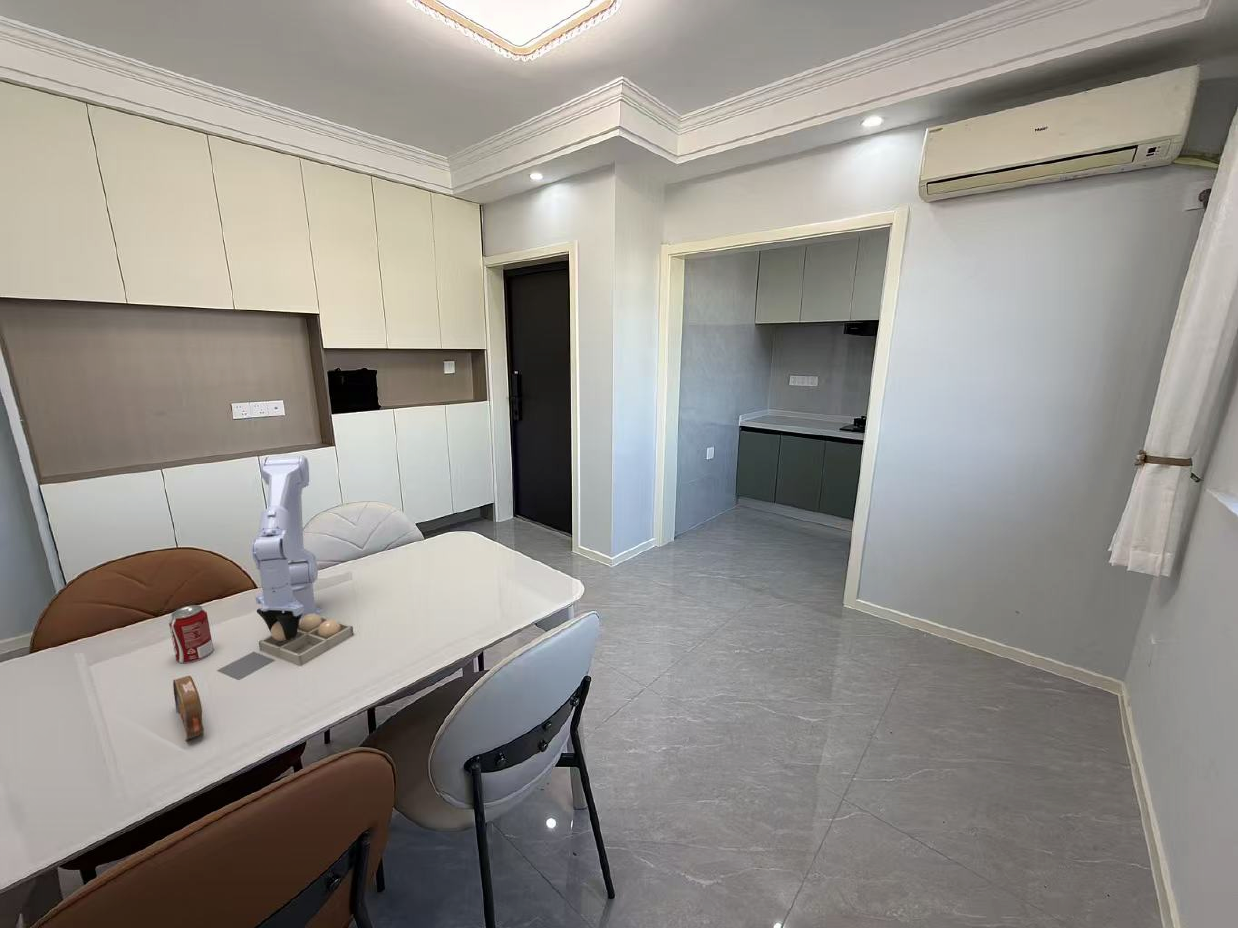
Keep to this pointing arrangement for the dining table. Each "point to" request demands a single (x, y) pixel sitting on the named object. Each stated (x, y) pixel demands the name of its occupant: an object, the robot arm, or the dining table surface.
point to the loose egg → (277, 632)
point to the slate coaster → (245, 665)
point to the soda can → (190, 634)
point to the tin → (188, 706)
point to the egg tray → (303, 639)
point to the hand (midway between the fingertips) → (283, 635)
